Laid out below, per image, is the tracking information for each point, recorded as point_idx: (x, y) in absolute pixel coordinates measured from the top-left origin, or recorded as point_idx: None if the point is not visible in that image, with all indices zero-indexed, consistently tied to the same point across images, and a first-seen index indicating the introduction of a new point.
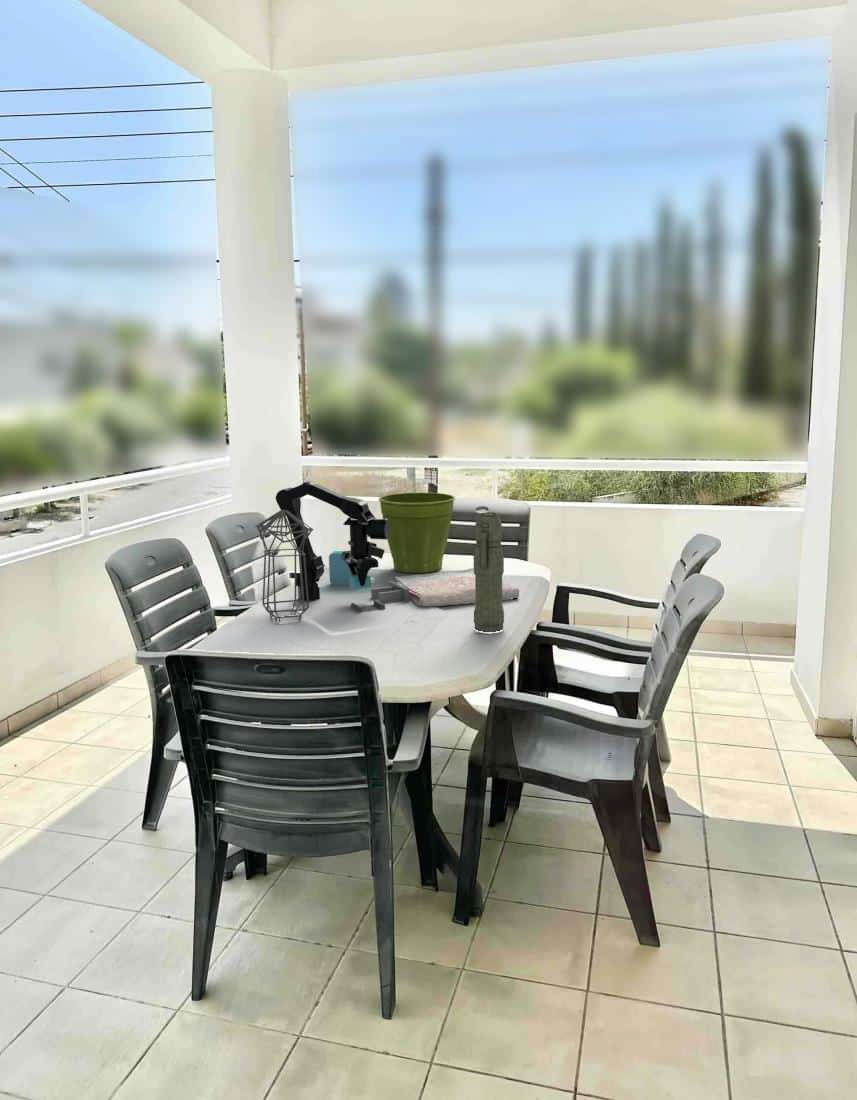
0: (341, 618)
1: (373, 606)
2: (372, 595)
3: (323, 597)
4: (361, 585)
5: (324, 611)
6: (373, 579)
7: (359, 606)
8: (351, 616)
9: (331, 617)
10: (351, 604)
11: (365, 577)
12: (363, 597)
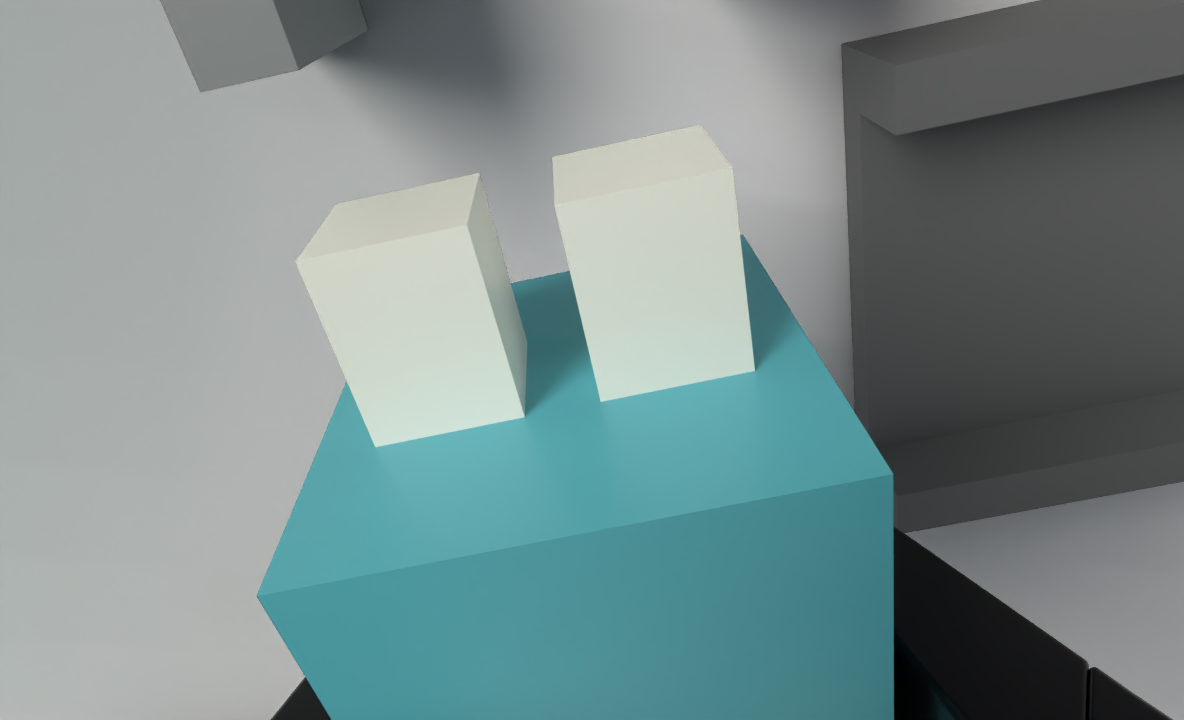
0: (1161, 596)
1: (984, 144)
2: (337, 46)
3: (27, 683)
4: None
5: None
6: (730, 214)
7: (1168, 447)
8: (1159, 494)
9: None
10: (913, 520)
11: (1057, 673)
12: (21, 158)
